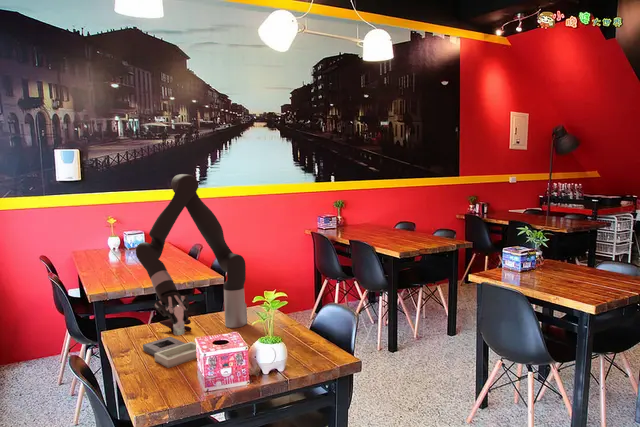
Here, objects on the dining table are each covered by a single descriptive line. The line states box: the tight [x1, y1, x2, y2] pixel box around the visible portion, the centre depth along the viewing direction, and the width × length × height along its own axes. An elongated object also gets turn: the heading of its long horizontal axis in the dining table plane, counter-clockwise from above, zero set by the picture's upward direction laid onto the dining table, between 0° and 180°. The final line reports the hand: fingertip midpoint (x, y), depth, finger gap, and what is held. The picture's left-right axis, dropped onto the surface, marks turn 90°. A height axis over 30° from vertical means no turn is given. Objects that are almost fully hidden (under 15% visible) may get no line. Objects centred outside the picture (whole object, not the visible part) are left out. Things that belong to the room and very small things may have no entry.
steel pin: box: [172, 305, 186, 336], centre depth 180 cm, size 4×4×11 cm
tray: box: [154, 341, 197, 369], centre depth 182 cm, size 16×10×3 cm, turn 136°
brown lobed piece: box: [159, 318, 192, 333], centre depth 212 cm, size 7×7×15 cm
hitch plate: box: [142, 336, 187, 358], centre depth 190 cm, size 12×12×2 cm
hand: (181, 321), depth 179 cm, fingers closed on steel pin, 4 cm apart
